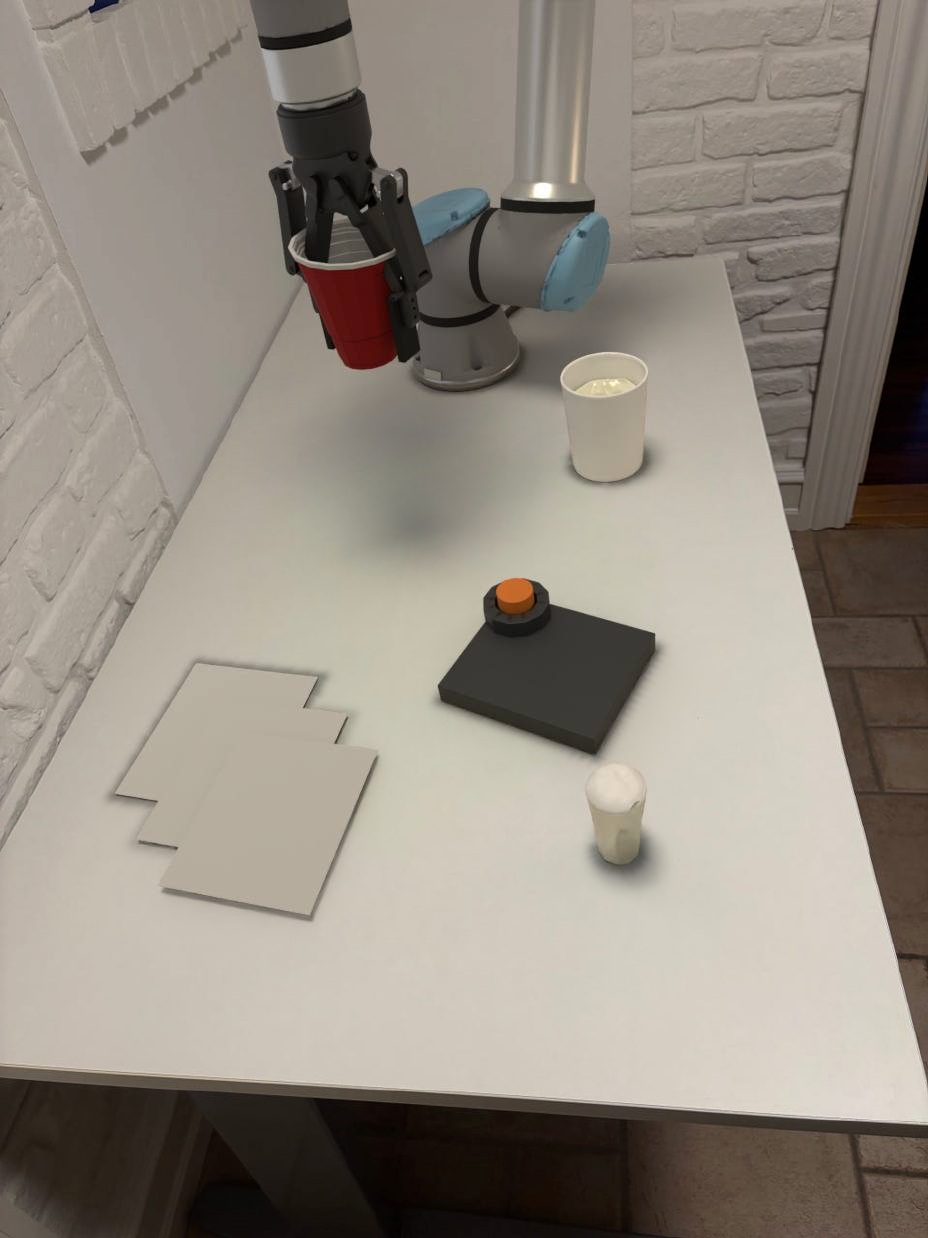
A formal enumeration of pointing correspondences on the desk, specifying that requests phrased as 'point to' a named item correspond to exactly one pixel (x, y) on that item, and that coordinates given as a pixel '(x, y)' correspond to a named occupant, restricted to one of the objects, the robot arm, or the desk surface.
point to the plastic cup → (351, 296)
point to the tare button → (515, 596)
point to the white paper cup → (606, 414)
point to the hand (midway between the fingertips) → (373, 349)
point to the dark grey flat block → (549, 670)
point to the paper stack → (248, 787)
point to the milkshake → (617, 810)
